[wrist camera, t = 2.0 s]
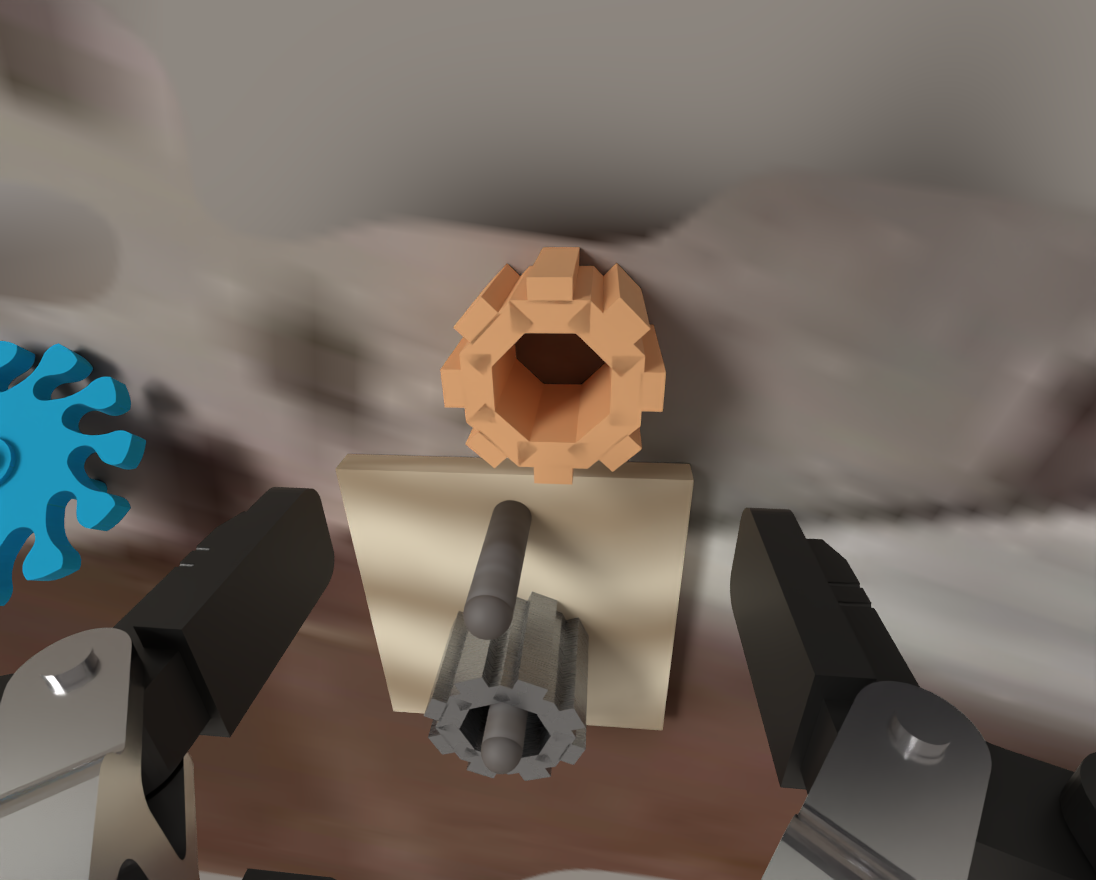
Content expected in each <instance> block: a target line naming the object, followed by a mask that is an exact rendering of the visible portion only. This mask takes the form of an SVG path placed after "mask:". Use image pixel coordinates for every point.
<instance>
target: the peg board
mask: <svg viewBox="0 0 1096 880" xmlns="http://www.w3.org/2000/svg"><path fill="white" fill-rule="evenodd" d="M335 470H336V474H337V478H338V482H339V486H340V490H341V495H342V499H343V503H344V507H345V511H346V515H347V519H348V524H349V528H350V532H351V536H352V540H353V544H354V549H355V553H356V557H357V561H358V565H359V569H360V574H361V578H362V582H363V586H364V590H365V594H366V599H367V603H368V607H369V611H370V615H371V619H372V623H373V628H374V632H375V636H376V640H377V644H378V648H379V653H380V657H381V661H382V665H383V669H384V673H385V678H386V682H387V686H388V690H389V694H390V698H391V702H392V707H393V711H398V712H412V713H425V710H426V707H427V704H428V701H429V698H430V695H431V691H432V688H433V685H434V682H435V679H436V675H437V672H438V669H439V666H440V663H441V659H442V656H443V653H444V650H445V647H446V643H447V640H448V637H449V634H450V631H451V628H452V625H453V623H454V621H455V618H456V616H457V614H458V611H461V612H463V619H464V623H465V626H466V627H467V629H468V631H469V632H470V633H471V634H472V635H474V636H475V637H477V638H479V639H483V640H492V639H495V638H498V637H500V636H501V635H503V634H504V633H505V632H506V631H507V630H508V628H509V627H510V625H511V622H512V619H513V614H514V609H515V604H516V598H517V597H519V598H521V599H524V600H528V598H529V596H530V594H531V592H535V593H538V594H541V595H544V596H546V597H549V598H552V599H555V600H557V609H556V611H558V612H561V613H563V615H564V617H565V619H566V620H570V619H574V618H578V617H579V619H580V620H581V622H582V624H583V626H584V628H585V630H586V631H587V633H588V635H589V641H588V684H587V715H586V725H595V726H609V727H623V728H637V729H651V730H662V729H663V721H664V713H665V705H666V698H667V690H668V682H669V674H670V666H671V658H672V650H673V642H674V634H675V626H676V618H677V610H678V602H679V595H680V587H681V579H682V571H683V563H684V555H685V547H686V539H687V531H688V523H689V515H690V507H691V500H692V492H693V484H694V479H693V475H692V471H691V467H690V464H678V463H643V462H625V463H623V464H622V465H621V466H620V467H618V468H617V469H616V470H615V471H613V472H612V471H611V470H610V469H609V468H608V467H606V466H605V465H604V464H603V463H602V462H601V461H597V462H595V463H594V464H593V465H592V466H590V467H589V468H588V469H579V468H574V471H573V482H572V485H571V484H540V483H534V467H518V466H517V465H516V464H515V463H514V462H513V461H511V460H510V459H505V460H503V461H502V462H501V463H500V464H499V465H498V466H497V467H496V468H493V467H492V466H491V465H490V464H489V463H487V462H486V461H485V460H484V459H483V458H469V457H434V456H399V455H365V454H347V455H346V457H345V458H344V459H343V460H342V462H341V463H340V464H339V465H338V467H337V468H336V469H335ZM527 715H528V711H527V710H524V709H521V708H518V707H515V706H512V705H509V704H506V703H503V702H501V703H496V704H491V705H490V706H489V711H488V716H487V721H486V726H485V731H484V736H483V741H482V745H481V757H482V760H483V762H484V764H485V766H486V767H487V768H488V769H489V770H490V771H492V772H494V773H497V774H505V773H508V772H510V771H512V770H513V769H514V768H515V767H516V766H517V765H518V764H519V762H520V760H521V757H522V752H523V745H524V737H525V730H526V723H527Z"/></svg>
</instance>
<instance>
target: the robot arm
mask: <svg viewBox="0 0 1096 880" xmlns="http://www.w3.org/2000/svg"><path fill="white" fill-rule="evenodd" d="M333 568H334V551H333V547H332V543H331V539H330V535H329V531H328V527H327V523H326V519H325V515H324V511H323V507H322V503H321V499H320V496H319V494H318V493H317V491H316V490H314V489H309V488H285V487H273V488H271V489H269V490H268V491H267V492H266V493H265V494H264V495H263V496H262V497H261V498H260V499H259V500H258V501H257V502H256V503H255V504H254V505H253V506H252V507H251V508H250V509H249V510H248V511H247V512H242V513H240V514H239V515H237V516H235V517H233V518H232V519H230V520H228V521H227V522H225V523H223V524H221V525H220V526H218V527H216V528H215V529H214V530H213V531H212V532H211V533H210V534H209V535H208V536H207V537H206V538H205V539H204V540H203V541H202V542H201V543H200V544H199V545H198V546H197V549H196V551H192V552H190V553H189V554H188V555H187V556H186V557H185V558H184V559H183V560H182V561H181V562H180V566H179V567H175V568H174V569H173V570H172V571H171V572H170V573H169V574H168V575H167V576H166V577H165V578H164V579H163V580H162V581H161V582H160V583H159V584H157V585H156V586H155V587H154V588H153V589H152V590H151V591H150V592H149V593H148V594H147V595H146V596H145V597H144V598H143V599H142V600H141V601H140V602H139V603H138V604H137V605H136V606H135V607H134V608H133V609H132V610H131V611H130V612H129V613H128V614H127V615H125V616H124V617H123V618H122V619H121V620H120V621H119V622H118V623H117V624H116V625H115V626H114V627H113V628H98V629H92V630H87V631H84V632H80V633H77V634H74V635H72V636H69V637H66V638H64V639H62V640H60V641H58V642H56V643H54V644H52V645H50V646H48V647H47V648H45V649H43V650H42V651H40V652H39V653H37V654H36V655H34V656H33V657H32V658H30V659H29V660H28V661H27V662H26V663H24V664H23V665H22V666H21V667H20V668H19V669H18V670H17V671H16V672H15V673H14V674H9V675H3V676H0V880H200V878H199V870H198V853H197V832H196V811H195V790H194V769H193V760H192V757H191V755H190V753H189V751H188V750H189V749H190V747H191V746H192V745H193V743H194V742H195V740H196V739H197V737H198V736H199V735H209V736H220V737H231V735H232V734H233V732H234V730H235V729H236V727H237V726H238V724H239V723H240V721H241V720H242V718H243V716H244V715H245V713H246V712H247V710H248V709H249V707H250V705H251V704H252V702H253V701H254V699H255V698H256V696H257V695H258V693H259V691H260V690H261V688H262V687H263V685H264V684H265V682H266V681H267V679H268V677H269V676H270V674H271V673H272V671H273V670H274V668H275V667H276V665H277V663H278V662H279V660H280V659H281V657H282V656H283V654H284V652H285V651H286V649H287V648H288V646H289V645H290V643H291V642H292V640H293V638H294V637H295V635H296V634H297V632H298V631H299V629H300V628H301V626H302V624H303V623H304V621H305V620H306V618H307V617H308V615H309V613H310V612H311V610H312V609H313V607H314V606H315V604H316V603H317V601H318V599H319V598H320V596H321V595H322V593H323V592H324V590H325V589H326V587H327V585H328V584H329V582H330V579H331V576H332V573H333ZM730 595H731V604H732V609H733V613H734V617H735V620H736V624H737V628H738V632H739V635H740V639H741V643H742V646H743V650H744V654H745V658H746V661H747V665H748V669H749V672H750V676H751V680H752V684H753V687H754V691H755V695H756V698H757V702H758V706H759V709H760V713H761V717H762V721H763V724H764V728H765V732H766V735H767V739H768V743H769V747H770V750H771V754H772V758H773V761H774V765H775V769H776V772H777V776H778V780H779V784H780V787H783V788H795V789H806V790H807V794H808V796H807V798H806V800H805V802H804V804H803V806H802V808H801V810H800V812H799V814H798V815H797V814H795V815H794V817H793V818H792V820H791V822H790V824H789V825H788V827H787V829H786V831H785V833H784V835H783V837H782V839H781V841H780V843H779V845H778V847H777V849H776V851H775V853H774V855H773V857H772V859H771V861H770V863H769V865H768V867H767V869H766V871H765V873H764V875H763V877H762V879H761V880H1096V752H1095V753H1092V754H1090V755H1088V756H1087V757H1086V758H1085V759H1084V760H1083V761H1082V763H1081V764H1080V766H1079V767H1078V768H1077V770H1076V771H1075V772H1073V771H1070V770H1067V769H1064V768H1061V767H1058V766H1055V765H1051V764H1048V763H1045V762H1042V761H1039V760H1036V759H1033V758H1030V757H1027V756H1024V755H1021V754H1018V753H1015V752H1012V751H1009V750H1006V749H1004V748H1001V747H998V746H996V745H993V744H991V743H988V742H986V741H985V740H984V738H983V737H982V735H981V733H980V732H979V731H978V729H977V728H976V727H975V726H974V724H973V723H972V722H971V721H970V720H969V719H968V718H967V717H966V716H965V715H964V714H963V713H962V712H960V711H959V710H958V709H957V708H956V707H954V706H953V705H952V704H950V703H949V702H947V701H946V700H944V699H943V698H941V697H939V696H937V695H936V694H934V693H932V692H930V691H927V690H925V689H923V688H920V686H919V685H918V683H917V681H916V680H915V678H914V676H913V674H912V673H911V671H910V669H909V668H908V666H907V664H906V662H905V661H904V659H903V657H902V655H901V654H900V652H899V650H898V649H897V647H896V645H895V643H894V642H893V640H892V638H891V636H890V635H889V633H888V631H887V629H886V628H885V626H884V624H883V623H882V621H881V619H880V617H879V616H878V614H877V612H876V610H875V609H874V608H871V602H870V600H869V598H868V597H867V595H866V593H865V591H864V590H863V588H860V583H859V581H858V579H857V578H856V576H855V574H854V572H853V571H852V569H851V567H850V565H849V564H848V562H847V560H846V559H845V558H843V557H842V556H841V555H840V554H839V553H838V552H836V551H835V550H834V549H833V548H832V547H831V546H829V545H828V544H827V543H826V542H825V541H823V540H822V539H806V538H805V536H804V534H803V532H802V530H801V528H800V526H799V524H798V522H797V520H796V518H795V516H794V514H793V513H792V511H791V510H789V509H764V508H745V509H744V511H743V513H742V517H741V521H740V527H739V532H738V538H737V543H736V549H735V555H734V560H733V566H732V571H731V579H730ZM242 880H335V879H333V878H331V877H321V876H312V875H303V874H294V873H285V872H275V871H266V870H257V869H247V871H246V873H245V875H244V877H243V879H242Z"/></svg>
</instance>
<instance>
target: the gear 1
mask: <svg viewBox="0 0 1096 880" xmlns="http://www.w3.org/2000/svg"><path fill="white" fill-rule="evenodd" d="M453 328H454V329H455V330H457V331H458V332H459V333H460V334H461V335H462V336H463V338H462V340H461V341H460V342H459V344H458V345H457V347H456V348H455V350H454V351H453V352H452V354H451V355H450V357H449V358H448V359H447V361H446V362H445V364H444V365H443V366H442V368H441V369H440V371H441V379H442V387H443V396H444V404H445V407H457V408H465V416H466V422H467V423H468V424H469V425H470V426H471V427H473V429H472V431H471V433H470V435H469V438H468V440H467V442H466V445H467V446H468V447H470V448H471V449H472V450H473V451H474V452H475V453H477V454H478V455H479V456H480V457H481V458H483V459H484V460H485V461H486V462H487V463H489V464H490V465H491V466H492V467H493V468H496V467H497V466H498V465H499V464H500V463H501V462H502V461H503V460H505V459H506V458H507V457H508V458H509V459H510V460H511V461H513V462H514V463H515V464H516V465H517V466H518V467H534V483H540V484H571V485H572V482H573V471H574V468H579V469H588V468H589V467H590V466H592V465H593V464H594V463H595V462H597V461H598V460H600V461H601V462H602V463H603V464H604V465H605V466H606V467H608V468H609V469H610V470H611V471H612V472H613V471H615V470H616V469H617V468H618V467H620V466H621V465H622V464H623V463H625V462H626V461H627V460H629V459H630V458H631V457H632V456H634V455H635V454H636V453H637V452H639V451H640V450H641V449H642V444H641V435H640V426H641V412H642V411H652V412H663V401H664V390H665V379H666V371H665V367H664V363H663V359H662V355H661V351H660V348H659V344H658V340H657V336H656V332H655V328H654V325H650V324H649V320H648V316H647V312H646V308H645V304H644V299H643V295H642V291H641V288H640V287H639V286H638V285H637V284H636V283H635V282H634V281H633V280H632V279H631V278H630V277H629V275H628V274H627V273H626V272H625V271H624V270H623V269H622V268H621V267H620V266H619V265H618V264H617V263H616V264H615V265H614V266H613V267H612V268H611V269H610V270H609V271H608V272H607V273H606V274H605V275H604V276H603V275H602V274H601V273H600V272H599V271H598V270H597V269H596V268H595V267H594V266H579V247H543V249H542V251H541V252H540V254H539V256H538V258H537V259H536V261H535V263H534V265H533V266H529V267H528V268H527V269H526V271H525V272H524V273H523V274H522V275H521V276H520V275H519V274H518V273H517V272H515V271H514V270H513V269H512V268H511V267H510V266H509V265H508V264H506V265H505V266H504V267H503V268H502V270H501V271H500V272H499V273H498V274H497V275H496V276H495V277H494V278H493V280H492V281H491V282H490V283H489V284H488V285H487V286H486V287H485V288H484V290H483V291H482V292H481V293H480V295H479V296H478V297H477V298H476V300H475V301H474V302H473V303H472V305H471V306H470V307H469V308H468V310H467V311H466V312H465V313H464V315H463V316H462V317H461V318H460V320H459V321H458V322H457V323H456V325H455V326H454V327H453ZM524 333H576V334H577V335H578V336H579V337H580V338H581V339H582V340H583V341H584V342H585V343H586V344H587V345H588V346H589V347H590V348H591V349H592V350H593V351H595V352H596V353H597V354H598V355H599V356H600V357H601V358H602V359H603V360H604V361H605V362H606V363H605V364H604V365H602V366H601V367H600V368H599V369H598V370H597V371H596V372H595V373H594V374H592V375H591V376H590V377H589V378H588V379H587V380H586V381H585V382H584V383H583V384H581V385H577V384H543V383H542V382H541V381H540V380H539V379H538V378H537V377H536V376H535V375H534V374H532V373H531V372H530V371H529V370H528V369H527V368H526V367H525V366H524V365H523V364H522V363H521V362H519V361H518V360H517V359H516V346H515V343H516V342H517V341H518V339H519V338H520V337H521V336H522V335H523V334H524Z"/></svg>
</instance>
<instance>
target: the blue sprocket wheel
mask: <svg viewBox="0 0 1096 880" xmlns="http://www.w3.org/2000/svg"><path fill="white" fill-rule="evenodd" d="M34 361H35V354H34V353H32V352H30V351H28V350H26V349H24V348H21V347H19V346H17V345H15V344H13V343H10V342H6V341H0V606H4V605H5V604H6V603H7V602H8V601H9V599H10V597H11V595H12V592H13V585H12V569H13V565H14V562H15V559H16V556H17V554H18V553H19V551H20V549H21V547H22V546H23V544H24V543H25V541H26V540H27V538H28V537H29V536H30V535H31V534H32V533H35V544H34V546H33V547H32V549H31V551H30V552H29V554H28V555H27V557H26V559H25V561H24V563H23V574H24V576H25V578H26V579H27V580H38V581H50V580H56V579H60V578H63V577H65V576H67V575H70V574H72V573H73V572H75V571H77V570H79V569H80V566H81V558H80V555H79V553H78V552H77V551H76V550H75V549H74V548H73V547H72V546H71V544H70V543H69V541H68V539H67V537H66V534H65V529H64V516H65V508H66V505H67V503H68V502H69V501H70V500H71V499H76V500H77V512H76V513H77V519H78V521H79V523H80V524H81V525H82V526H84V527H86V528H90V529H97V530H103V531H108V530H110V529H111V528H113V527H114V526H115V525H116V524H118V523H119V522H120V521H121V520H122V518H123V517H124V516H125V515H126V514H127V512H128V511H129V510H130V509H131V507H130V504H129V502H128V501H127V500H126V499H125V498H123V497H120V496H117V495H113V494H109V493H107V486H106V484H105V483H103V482H101V481H98V480H95V479H91V478H89V477H88V475H87V474H86V472H85V469H84V464H85V461H86V459H87V458H88V457H89V456H90V455H91V454H93V453H95V452H97V454H98V456H99V457H100V459H101V460H102V461H103V462H105V463H107V464H110V465H113V466H116V467H119V468H122V469H127V470H130V469H135V468H137V466H138V465H139V463H140V461H141V459H142V457H143V454H144V450H145V445H146V440H145V439H143V438H141V437H139V436H136V435H134V434H131V433H129V432H126V431H122V430H119V431H114V432H111V433H108V434H103V435H84V434H82V433H81V432H80V430H79V421H80V419H81V418H82V416H83V415H85V414H86V413H88V412H90V411H100V412H103V413H105V414H108V415H111V416H119V415H122V414H125V413H126V412H128V411H129V410H130V408H131V400H130V396H129V392H128V390H127V388H126V385H125V384H123V383H121V382H119V381H117V380H115V379H113V378H111V377H100V378H98V379H96V380H94V381H92V382H91V383H90V384H89V385H88V386H87V387H85V388H84V389H82V390H81V391H79V392H77V393H75V394H73V395H71V396H68V397H65V398H61V399H55V400H51V394H52V392H53V390H54V389H55V388H56V387H58V386H59V385H61V384H65V383H73V382H78V381H81V380H83V379H85V378H87V377H88V376H89V375H90V373H91V372H92V370H93V367H92V366H91V364H90V363H89V362H88V361H87V360H86V359H85V358H83V357H82V356H80V355H79V354H77V353H75V352H73V351H72V350H70V349H68V348H66V347H64V346H62V345H61V344H59V343H58V344H55V345H53V346H51V347H50V348H49V349H48V350H47V351H46V352H45V353H44V355H43V357H42V360H41V362H40V363H39V365H38V366H37V368H36V369H35V370H34V371H33V373H32V374H31V375H29V376H28V377H27V378H26V379H25V380H23V381H22V382H20V383H19V384H17V385H16V386H14V387H12V388H11V389H9V390H8V386H9V384H10V383H11V381H12V380H13V379H15V378H16V377H18V376H20V375H21V374H23V373H25V372H26V371H28V370H29V369H30V368H31V367H32V365H33V363H34Z"/></svg>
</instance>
